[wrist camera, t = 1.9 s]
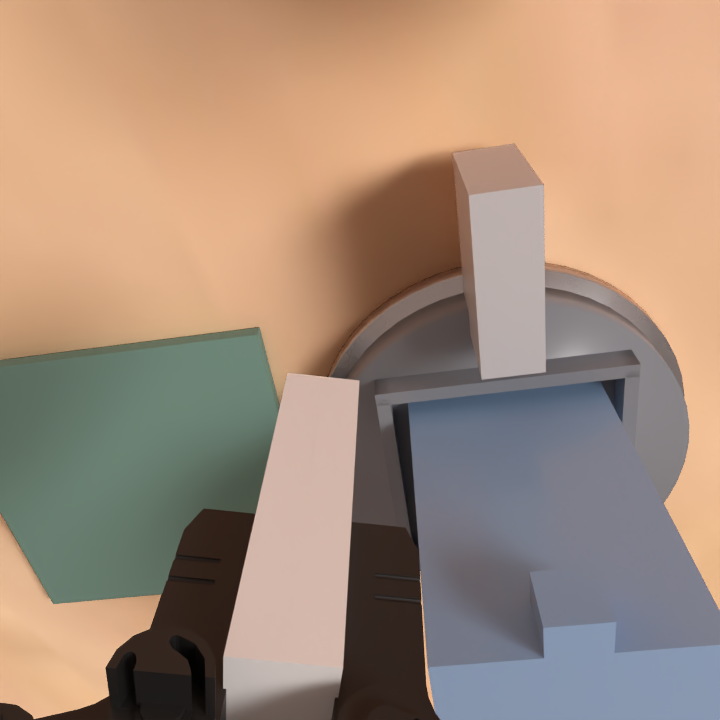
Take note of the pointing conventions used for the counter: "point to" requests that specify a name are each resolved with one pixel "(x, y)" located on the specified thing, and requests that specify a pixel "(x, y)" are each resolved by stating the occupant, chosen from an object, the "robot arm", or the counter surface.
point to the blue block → (554, 566)
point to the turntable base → (453, 285)
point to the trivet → (130, 454)
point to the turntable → (504, 344)
